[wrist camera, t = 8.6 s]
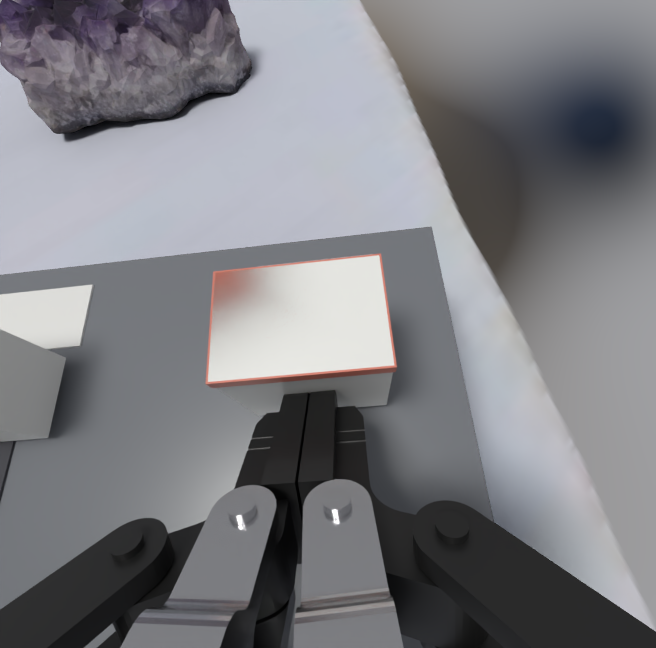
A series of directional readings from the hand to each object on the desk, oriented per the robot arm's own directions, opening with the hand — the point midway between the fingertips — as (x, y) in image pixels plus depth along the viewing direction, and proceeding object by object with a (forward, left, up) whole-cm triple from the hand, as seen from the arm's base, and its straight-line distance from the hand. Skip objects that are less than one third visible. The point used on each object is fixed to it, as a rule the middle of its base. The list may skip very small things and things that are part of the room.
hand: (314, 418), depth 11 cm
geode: (-34, +16, -12) cm, 39 cm away
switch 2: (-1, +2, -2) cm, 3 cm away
